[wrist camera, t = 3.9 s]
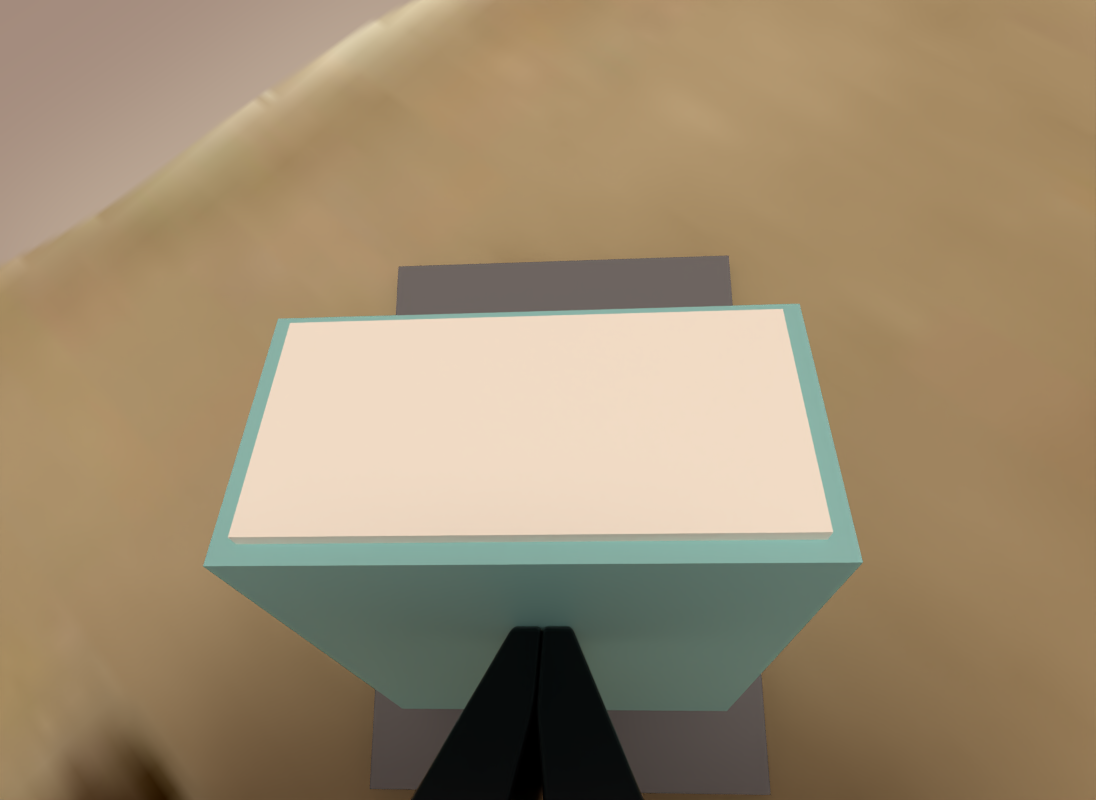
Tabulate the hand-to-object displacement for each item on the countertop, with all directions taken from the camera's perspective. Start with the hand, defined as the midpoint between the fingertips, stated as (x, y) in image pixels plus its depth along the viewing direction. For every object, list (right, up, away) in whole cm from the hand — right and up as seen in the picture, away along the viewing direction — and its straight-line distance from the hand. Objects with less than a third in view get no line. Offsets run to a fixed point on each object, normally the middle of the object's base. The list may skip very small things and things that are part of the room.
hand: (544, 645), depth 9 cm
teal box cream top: (0, -2, +6) cm, 6 cm away
